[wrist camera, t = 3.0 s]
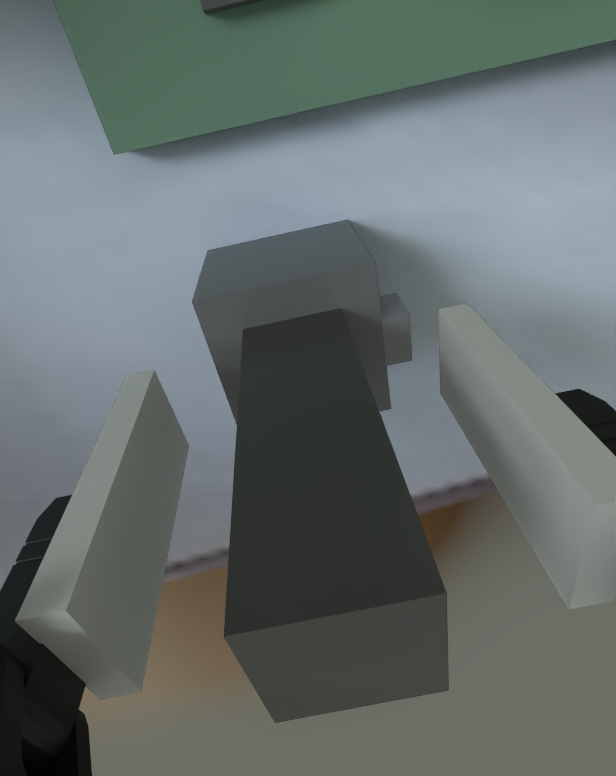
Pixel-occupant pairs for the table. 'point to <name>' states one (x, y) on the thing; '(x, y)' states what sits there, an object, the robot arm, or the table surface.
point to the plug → (319, 479)
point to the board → (295, 54)
